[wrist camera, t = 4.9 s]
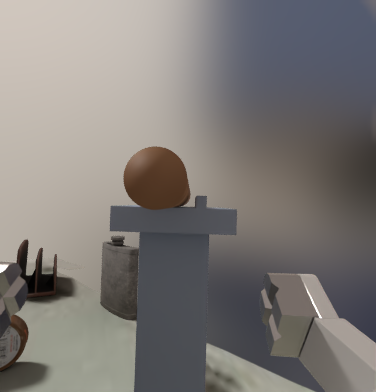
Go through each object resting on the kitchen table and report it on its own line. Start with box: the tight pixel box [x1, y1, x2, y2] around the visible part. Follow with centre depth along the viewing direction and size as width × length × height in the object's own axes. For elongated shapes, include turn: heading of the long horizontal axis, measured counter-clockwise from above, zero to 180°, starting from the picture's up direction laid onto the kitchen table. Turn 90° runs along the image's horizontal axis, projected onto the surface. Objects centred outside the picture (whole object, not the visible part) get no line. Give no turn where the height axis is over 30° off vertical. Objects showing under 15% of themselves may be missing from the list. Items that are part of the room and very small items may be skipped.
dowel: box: [124, 147, 190, 210], centre depth 24 cm, size 22×3×3 cm, turn 179°
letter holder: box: [17, 240, 57, 298], centre depth 81 cm, size 10×20×14 cm, turn 26°
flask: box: [100, 236, 139, 320], centre depth 65 cm, size 4×14×18 cm, turn 44°
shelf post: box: [110, 196, 237, 392], centre depth 26 cm, size 12×12×27 cm
